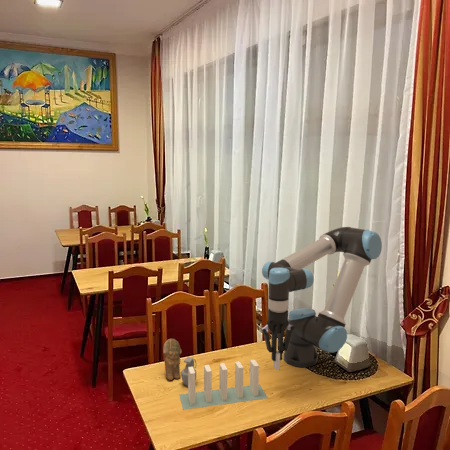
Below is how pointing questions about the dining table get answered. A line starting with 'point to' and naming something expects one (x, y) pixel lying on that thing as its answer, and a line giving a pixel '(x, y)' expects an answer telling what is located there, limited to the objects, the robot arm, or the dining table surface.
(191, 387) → the domino
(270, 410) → the dining table surface
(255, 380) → the domino
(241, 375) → the domino
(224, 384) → the domino
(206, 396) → the domino
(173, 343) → the figurine
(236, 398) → the strip
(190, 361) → the hand grenade
